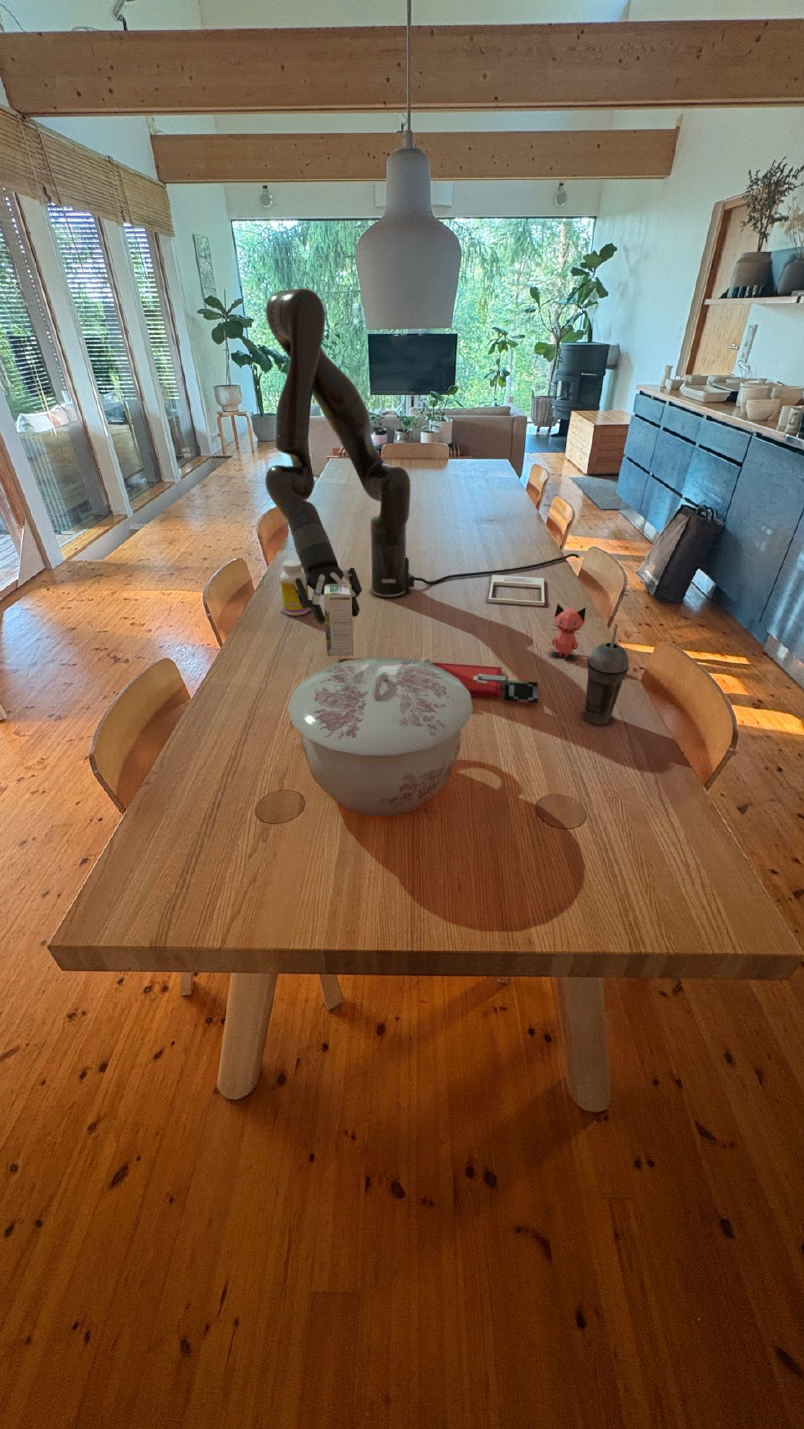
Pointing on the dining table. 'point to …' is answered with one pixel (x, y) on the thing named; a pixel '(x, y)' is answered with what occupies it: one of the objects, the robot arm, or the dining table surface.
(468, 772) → the dining table surface
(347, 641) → the syrup box
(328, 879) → the dining table surface
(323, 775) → the chamber pot
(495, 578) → the photo frame
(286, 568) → the supplement bottle
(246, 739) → the dining table surface
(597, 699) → the beverage cup
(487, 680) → the red board with handle
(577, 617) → the cat figurine
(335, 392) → the robot arm
